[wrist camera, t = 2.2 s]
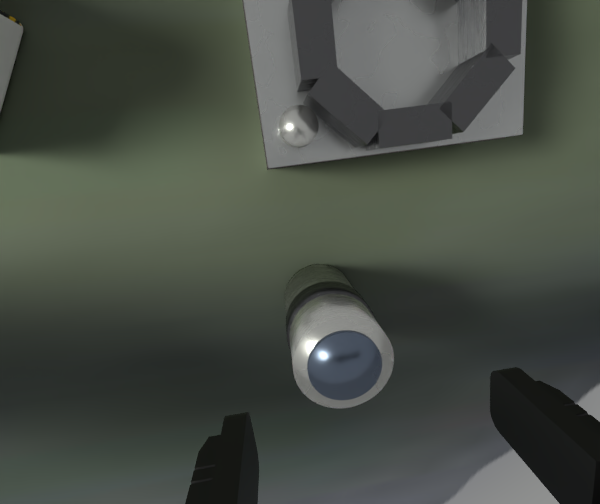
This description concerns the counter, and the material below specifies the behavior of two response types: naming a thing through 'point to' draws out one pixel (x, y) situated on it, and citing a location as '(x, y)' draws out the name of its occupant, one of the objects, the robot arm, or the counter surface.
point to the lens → (334, 339)
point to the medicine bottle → (8, 50)
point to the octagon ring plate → (384, 75)
